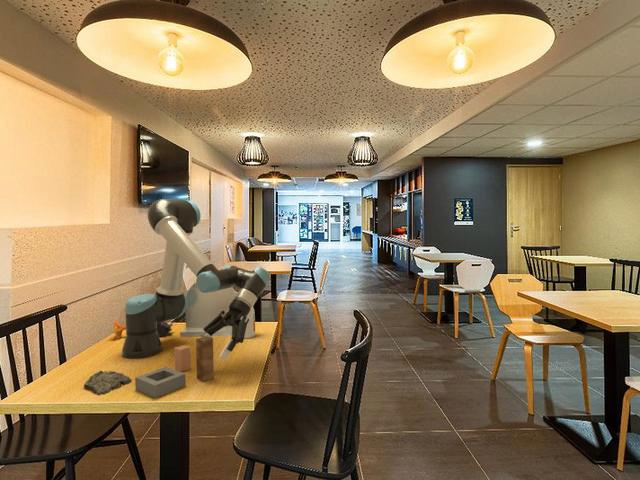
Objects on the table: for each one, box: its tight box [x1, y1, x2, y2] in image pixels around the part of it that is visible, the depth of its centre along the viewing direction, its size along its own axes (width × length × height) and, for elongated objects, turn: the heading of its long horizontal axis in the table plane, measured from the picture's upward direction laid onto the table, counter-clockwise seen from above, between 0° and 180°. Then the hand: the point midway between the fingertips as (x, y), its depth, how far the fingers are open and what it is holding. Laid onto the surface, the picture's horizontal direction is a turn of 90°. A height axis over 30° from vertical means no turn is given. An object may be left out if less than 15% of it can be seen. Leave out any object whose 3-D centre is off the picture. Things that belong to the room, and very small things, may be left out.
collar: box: [134, 366, 187, 399], centre depth 126 cm, size 11×11×4 cm
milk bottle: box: [240, 306, 256, 339], centre depth 182 cm, size 8×8×20 cm
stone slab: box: [83, 370, 132, 396], centre depth 130 cm, size 12×17×3 cm
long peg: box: [195, 336, 215, 383], centre depth 133 cm, size 4×4×14 cm
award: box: [179, 282, 237, 338], centre depth 187 cm, size 28×9×28 cm, turn 94°
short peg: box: [173, 345, 192, 373], centre depth 142 cm, size 4×4×8 cm
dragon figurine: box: [113, 320, 176, 340], centre depth 184 cm, size 10×12×25 cm
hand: (209, 354), depth 133 cm, fingers open, 13 cm apart
